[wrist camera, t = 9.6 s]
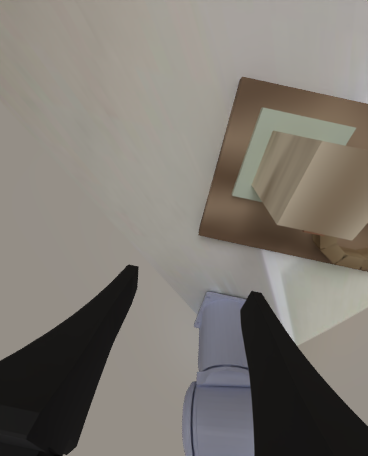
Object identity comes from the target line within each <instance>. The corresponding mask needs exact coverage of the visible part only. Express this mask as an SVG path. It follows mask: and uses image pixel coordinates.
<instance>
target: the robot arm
mask: <svg viewBox="0 0 368 456" xmlns="http://www.w3.org/2000/svg"><path fill="white" fill-rule="evenodd" d="M137 283H138V266H133V265H128V266H126V268H125V269H124V270H123V271H122V272H121V273H120V274H119V275H118V276H117V277H116V278H115V279H114V280H113V281H112V282H111V283H110V284H109V285H108V286H107V287H106V288H105V289H104V290H102V291H101V292H100V293H99V294H98V295H97V296H96V297H95V298H93V299H92V300H91V301H90V302H89V303H87V304H86V305H85V306H84V307H83V308H81V309H80V310H79V311H78V312H76V313H75V314H73V315H72V316H71V317H69V318H68V319H67V320H65V321H64V322H62V323H61V324H59V325H58V326H56V327H55V328H54V329H52V330H51V331H49V332H48V333H46V334H44V335H43V336H41V337H40V338H38V339H36V340H35V341H33V342H32V343H30V344H28V345H27V346H25V347H24V348H22V349H20V350H19V351H17V352H15V353H13V354H12V355H10V356H8V357H6V358H4V359H3V360H1V361H0V456H63V454H65V455H67V454H68V453H70V452H71V451H72V450H73V449H74V448H75V447H76V446H77V444H78V440H79V437H80V434H81V432H82V429H83V425H84V423H85V420H86V417H87V414H88V411H89V408H90V405H91V402H92V399H93V397H94V394H95V390H96V388H97V385H98V382H99V380H100V377H101V374H102V372H103V369H104V366H105V363H106V361H107V358H108V355H109V352H110V350H111V347H112V345H113V343H114V341H115V338H116V336H117V334H118V332H119V330H120V328H121V325H122V323H123V321H124V319H125V317H126V315H127V313H128V311H129V308H130V306H131V304H132V301H133V299H134V296H135V293H136V290H137ZM194 327H196V328H199V356H198V368H199V372H197V381H195V382H192V383H191V385H190V387H189V388H188V390H187V392H186V395H185V400H184V405H183V416H182V437H183V446H184V452H185V456H368V426H367V425H366V424H365V423H364V422H363V421H362V420H361V419H360V418H359V417H358V416H357V415H356V414H355V413H354V412H353V411H352V410H351V409H350V408H349V407H348V406H347V405H346V403H344V401H343V400H342V399H341V398H340V397H339V396H338V395H337V394H336V393H335V391H334V390H333V389H332V388H331V387H330V386H329V385H328V384H327V383H326V381H325V380H324V379H323V378H322V377H321V376H320V374H318V372H317V371H316V370H315V368H314V367H313V366H312V365H311V364H310V362H309V361H308V360H307V359H306V357H305V356H304V355H303V354H302V352H301V351H300V350H299V348H298V347H297V345H296V344H295V343H294V341H293V340H292V339H291V337H290V336H289V334H288V333H287V332H286V330H285V329H284V327H283V326H282V324H281V323H280V321H279V320H278V318H277V317H276V315H275V314H274V312H273V311H272V309H271V307H270V306H269V304H268V303H267V301H266V300H265V298H264V296H263V295H262V293H259V292H254V291H251V293H250V295H249V296H248V298H247V299H242V298H238V297H233V296H228V295H224V294H219V293H214V292H207V293H206V295H205V297H204V300H203V302H202V305H201V307H200V310H199V313H198V315H197V318H196V320H195V323H194Z"/></svg>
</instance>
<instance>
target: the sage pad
mask: <svg viewBox="0 0 368 456" xmlns="http://www.w3.org/2000/svg"><path fill="white" fill-rule="evenodd" d="M355 129H356V128H355V127H351V126H346V125H341V124H337V123H332V122H328V121H323V120H318V119H314V118H309V117H305V116H300V115H295V114H291V113H286V112H282V111H277V110H272V109H268V108H261V110H260V113H259V116H258V119H257V122H256V125H255V128H254V131H253V133H252V136H251V139H250V142H249V145H248V148H247V151H246V154H245V156H244V159H243V162H242V165H241V168H240V171H239V174H238V177H237V179H236V182H235V185H234V188H233V191H232V196H236V197H240V198H245V199H250V200H254V201H259V202H262V201H261V199H260V198H259V196H258V195H257V193H256V191H255V190H254V188H253V187H252V183H253V180H254V177H255V175H256V172H257V170H258V167H259V165H260V162H261V160H262V157H263V155H264V152H265V150H266V147H267V144H268V142H269V139H270V137H271V134H272V132H273V131H278V132H282V133H287V134H292V135H297V136H302V137H306V138H311V139H316V140H321V141H325V142H330V143H335V144H340V145H344V146H346V144H347V142H348V141H349V139H350V138H351V136H352V134H353V133H354V131H355Z"/></svg>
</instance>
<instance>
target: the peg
mask: <svg viewBox="0 0 368 456" xmlns="http://www.w3.org/2000/svg"><path fill="white" fill-rule="evenodd" d="M252 187H253V188H254V190H255V191H256V193H257V195H258V196H259V198H260V199H261V201H262V202H263V204H264V205H265V207H266V209H267V210H268V212H269V213H270V215H271V216H272V218H273V220H274V221H275V223H276V224H277V225H280V226H285V227H290V228H295V229H299V230H302V231H303V232H306V233H311V234H316V235H320V236H324V235H328V236H333V237H338V238H342V239H347V240H353V239H354V238H355V237H356V236H357V235H358V233H359V232H360V231H361V230H362V229H363V228H364V226H365V225H366V224H367V223H368V150H363V149H359V148H354V147H349V146H344V145H340V144H335V143H330V142H325V141H321V140H316V139H311V138H306V137H302V136H297V135H292V134H287V133H282V132H278V131H273V132H272V134H271V137H270V139H269V142H268V144H267V147H266V150H265V152H264V155H263V157H262V160H261V162H260V165H259V167H258V170H257V172H256V175H255V177H254V180H253V183H252Z"/></svg>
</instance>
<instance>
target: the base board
mask: <svg viewBox="0 0 368 456" xmlns="http://www.w3.org/2000/svg"><path fill="white" fill-rule="evenodd" d="M261 108H268V109H272V110H277V111H282V112H286V113H291V114H295V115H300V116H305V117H309V118H314V119H318V120H323V121H328V122H332V123H337V124H341V125H346V126H351V127H355V128H356V129H355V131H354V133H353V134H352V136H351V138H350V139H349V141H348V142H347V144H346V146H349V147H354V148H359V149H363V150H368V104H366V103H361V102H356V101H352V100H347V99H343V98H338V97H333V96H329V95H324V94H320V93H315V92H310V91H306V90H301V89H297V88H292V87H288V86H283V85H278V84H274V83H269V82H265V81H260V80H255V79H251V78H246V77H242V78H241V79H240V81H239V85H238V89H237V92H236V96H235V100H234V103H233V107H232V111H231V114H230V118H229V122H228V125H227V129H226V133H225V136H224V140H223V144H222V147H221V151H220V155H219V158H218V162H217V166H216V169H215V173H214V177H213V180H212V184H211V187H210V191H209V195H208V198H207V202H206V206H205V209H204V213H203V217H202V220H201V224H200V228H199V235H200V236H205V237H209V238H214V239H219V240H223V241H228V242H233V243H237V244H242V245H247V246H251V247H256V248H260V249H265V250H270V251H274V252H279V253H284V254H288V255H293V256H298V257H302V258H307V259H311V260H316V261H321V262H325V263H330V264H335V265H339V266H344V267H348V268H353V269H358V270H362V271H367V272H368V223H367V224H366V225H365V226H364V228H363V229H362V230H361V231H360V232H359V233H358V235H357V236H356V237H355V238H354V239H353V240H347V239H342V238H338V237H333V236H328V235H324V236H320V235H316V234H311V233H306V232H303V231H302V230H299V229H295V228H290V227H285V226H280V225H277V224H276V223H275V221H274V220H273V218H272V216H271V215H270V213H269V212H268V210H267V209H266V207H265V205H264V204H263V202H259V201H254V200H250V199H245V198H240V197H236V196H232V191H233V188H234V185H235V182H236V179H237V177H238V174H239V171H240V168H241V165H242V162H243V159H244V156H245V154H246V151H247V148H248V145H249V142H250V139H251V136H252V133H253V131H254V128H255V125H256V122H257V119H258V116H259V113H260V110H261Z"/></svg>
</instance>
